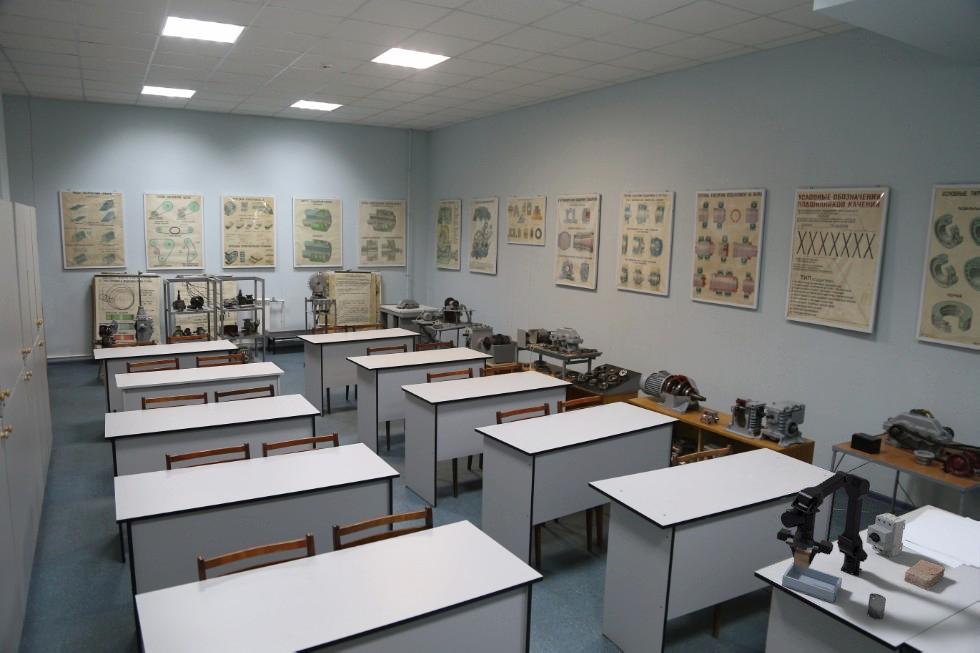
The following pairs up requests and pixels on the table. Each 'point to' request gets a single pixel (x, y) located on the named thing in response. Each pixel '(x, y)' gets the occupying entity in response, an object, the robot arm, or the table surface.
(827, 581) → the tote
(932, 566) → the brick
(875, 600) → the steel cylinder
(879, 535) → the circuit breaker
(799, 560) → the walnut cube
